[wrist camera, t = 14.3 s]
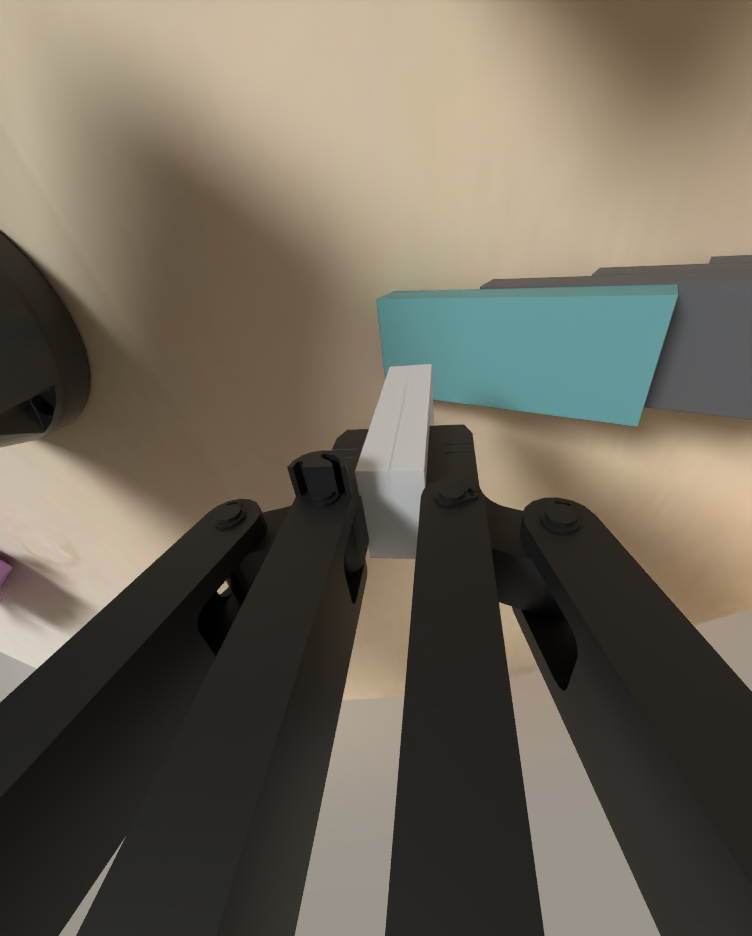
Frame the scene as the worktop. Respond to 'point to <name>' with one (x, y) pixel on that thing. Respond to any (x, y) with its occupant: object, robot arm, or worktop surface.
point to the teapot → (4, 573)
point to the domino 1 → (534, 346)
